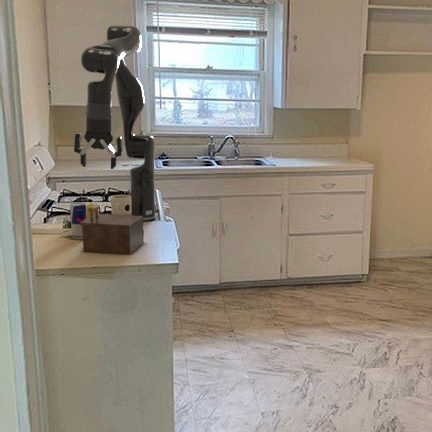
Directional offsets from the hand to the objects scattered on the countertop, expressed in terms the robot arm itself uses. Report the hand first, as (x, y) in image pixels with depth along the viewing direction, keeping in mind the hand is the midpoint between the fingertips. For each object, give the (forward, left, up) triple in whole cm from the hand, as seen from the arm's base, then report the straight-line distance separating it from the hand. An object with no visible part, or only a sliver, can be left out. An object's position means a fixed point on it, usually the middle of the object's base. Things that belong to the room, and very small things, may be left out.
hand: (98, 167), depth 181 cm
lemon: (-31, -17, -28) cm, 45 cm away
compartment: (-3, +3, -27) cm, 28 cm away
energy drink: (-12, -13, -28) cm, 33 cm away
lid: (-3, +2, -18) cm, 19 cm away
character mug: (-23, -2, -28) cm, 36 cm away
